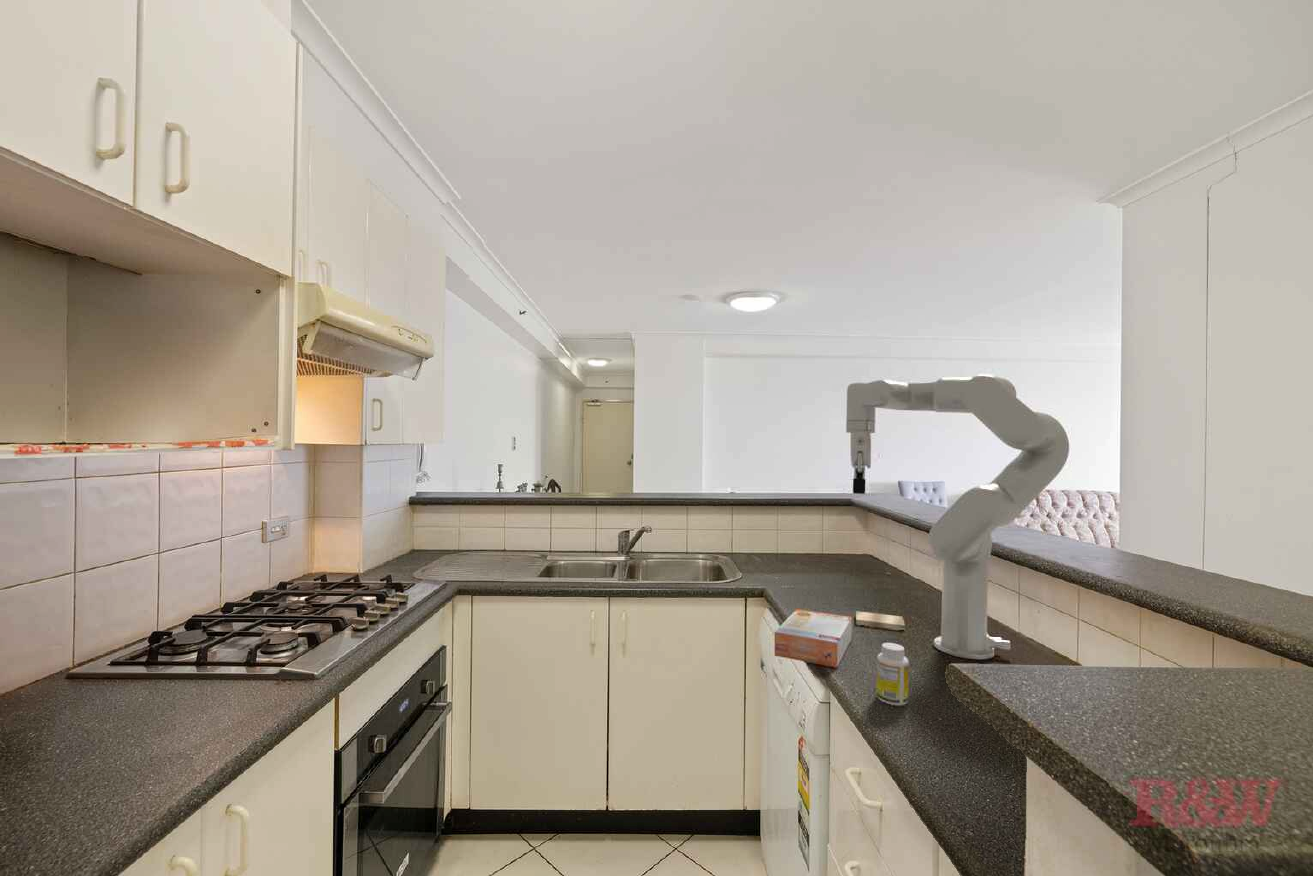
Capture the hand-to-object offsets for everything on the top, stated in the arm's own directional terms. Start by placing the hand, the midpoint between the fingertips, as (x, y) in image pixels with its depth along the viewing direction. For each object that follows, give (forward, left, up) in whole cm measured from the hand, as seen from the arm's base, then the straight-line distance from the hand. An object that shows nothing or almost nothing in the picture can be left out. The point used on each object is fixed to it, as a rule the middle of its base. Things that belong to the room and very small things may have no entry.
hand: (858, 493), depth 153 cm
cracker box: (+8, +17, -32) cm, 37 cm away
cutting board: (-6, +1, -35) cm, 36 cm away
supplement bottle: (-6, +49, -35) cm, 61 cm away
